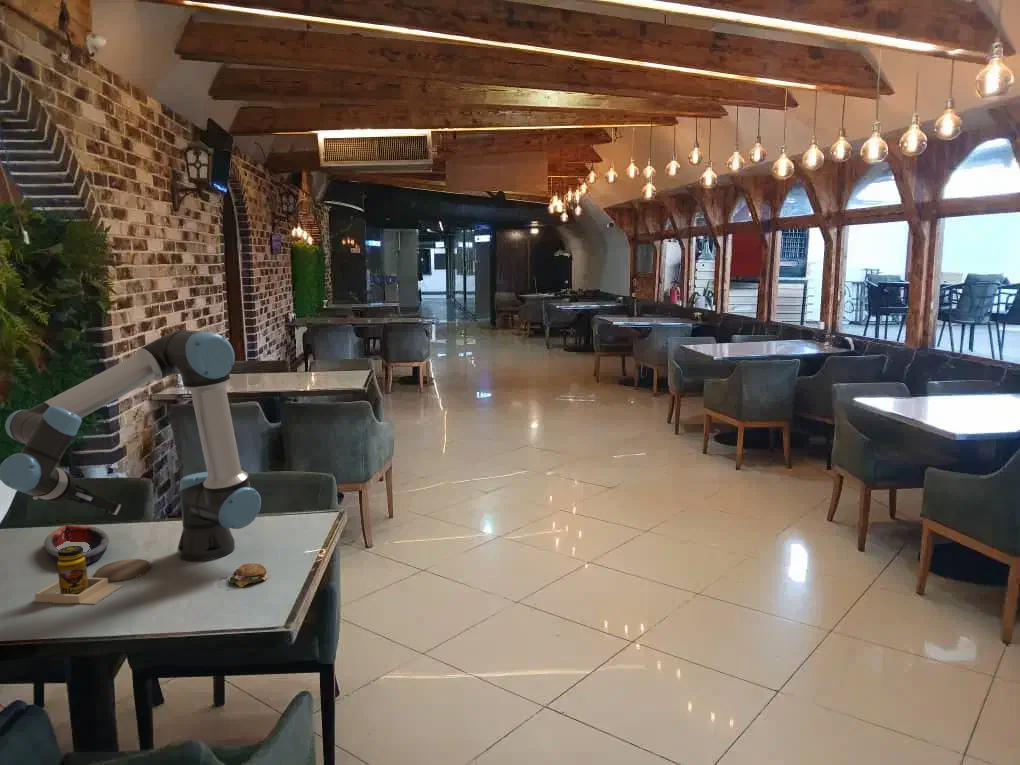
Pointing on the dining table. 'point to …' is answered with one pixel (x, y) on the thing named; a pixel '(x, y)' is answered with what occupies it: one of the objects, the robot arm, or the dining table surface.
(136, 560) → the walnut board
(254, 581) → the hamburger
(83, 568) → the condiment
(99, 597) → the carton tray
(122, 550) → the dining table surface
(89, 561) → the dish
